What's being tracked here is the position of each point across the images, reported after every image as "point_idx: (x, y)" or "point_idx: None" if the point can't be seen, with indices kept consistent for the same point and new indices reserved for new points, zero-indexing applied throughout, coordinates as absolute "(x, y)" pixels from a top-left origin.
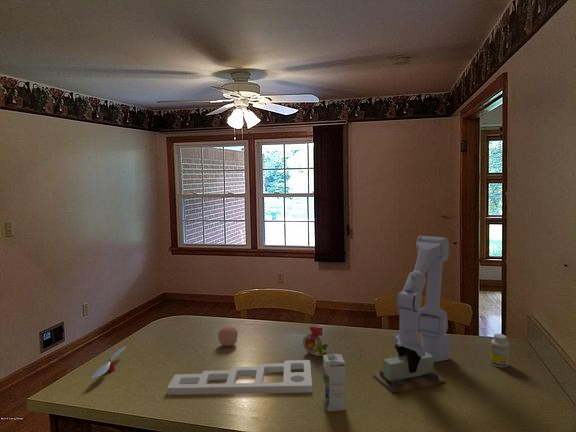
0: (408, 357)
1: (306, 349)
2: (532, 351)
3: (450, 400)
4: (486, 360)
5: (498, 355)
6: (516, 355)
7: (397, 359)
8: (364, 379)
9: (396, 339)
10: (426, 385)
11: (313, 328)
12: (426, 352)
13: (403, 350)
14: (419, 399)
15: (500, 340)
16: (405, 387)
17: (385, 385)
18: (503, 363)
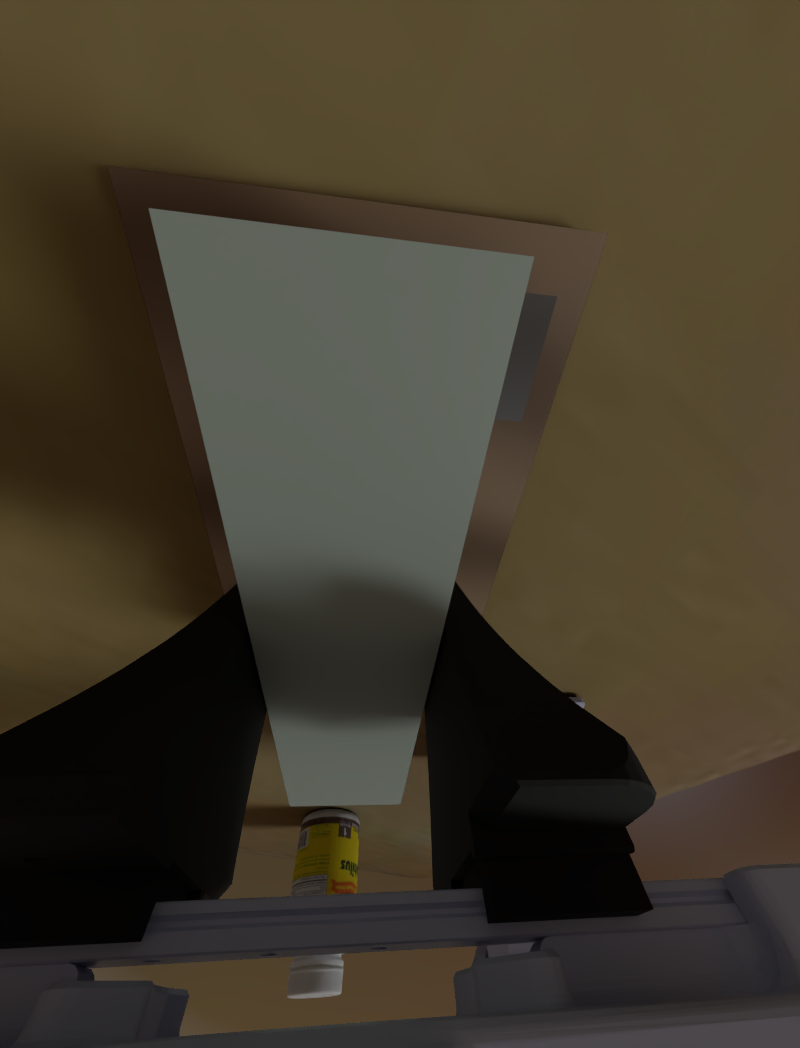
0: (115, 706)
1: None
2: (365, 868)
3: (16, 573)
4: (374, 809)
5: (304, 873)
6: (363, 849)
7: (367, 546)
8: (621, 5)
9: (752, 914)
10: (219, 561)
11: None
12: (384, 803)
13: (449, 749)
14: (6, 389)
15: (294, 974)
16: (186, 387)
17: (307, 194)
18: (300, 836)
